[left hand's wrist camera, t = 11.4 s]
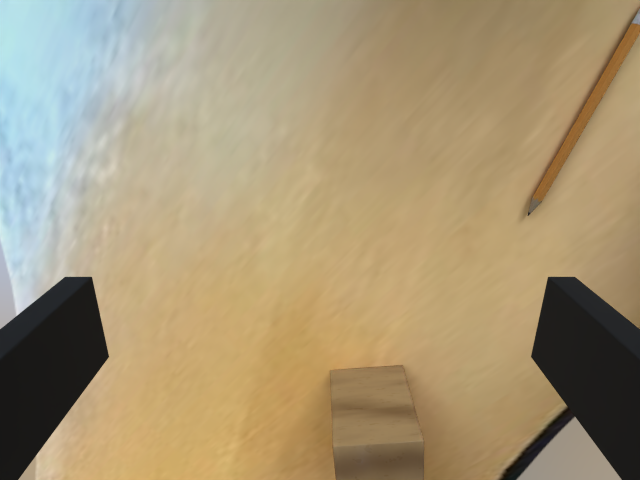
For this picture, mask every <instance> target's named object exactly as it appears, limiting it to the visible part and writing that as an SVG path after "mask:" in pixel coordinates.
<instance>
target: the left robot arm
mask: <svg viewBox="0 0 640 480" xmlns="http://www.w3.org/2000/svg"><path fill="white" fill-rule="evenodd" d="M108 357H109V355H108V350H107V346H106V341H105V336H104V332H103V327H102V322H101V318H100V313H99V308H98V303H97V299H96V294H95V289H94V285H93V280H92V277H65V278H63V279H62V280H61V281H60V282H58V283H57V284H56V285H55V286H53V287H52V288H51V289H50V290H48V291H47V292H46V293H45V294H44V295H42V296H41V297H40V298H39V299H37V300H36V301H35V302H34V303H32V304H31V305H30V306H29V307H27V308H26V309H25V310H24V311H22V312H21V313H20V314H19V315H18V316H16V317H15V318H14V319H13V320H11V321H10V322H9V323H8V324H6V325H5V326H4V327H3V328H1V329H0V480H18V479H19V478H20V476H21V475H22V474H23V472H24V471H25V470H26V468H27V467H28V466H29V464H30V463H31V462H32V460H33V459H34V457H35V456H36V455H37V453H38V452H39V451H40V449H41V448H42V447H43V445H44V444H45V443H46V441H47V440H48V439H49V437H50V436H51V434H52V433H53V432H54V430H55V429H56V428H57V426H58V425H59V424H60V422H61V421H62V420H63V418H64V417H65V416H66V414H67V413H68V411H69V410H70V409H71V407H72V406H73V405H74V403H75V402H76V401H77V399H78V398H79V397H80V395H81V394H82V393H83V391H84V390H85V388H86V387H87V386H88V384H89V383H90V382H91V380H92V379H93V378H94V376H95V375H96V374H97V372H98V371H99V370H100V368H101V367H102V365H103V364H104V363H105V361H106V360H107V359H108ZM531 357H532V359H533V360H534V361H535V363H536V364H537V365H538V367H539V368H540V370H541V371H542V372H543V374H544V375H545V376H546V378H547V379H548V380H549V382H550V383H551V384H552V386H553V387H554V388H555V390H556V391H557V393H558V394H559V395H560V397H561V398H562V399H563V401H564V402H565V403H566V405H567V406H568V407H569V409H570V410H571V411H572V413H573V414H574V416H575V417H576V418H577V420H578V421H579V422H580V424H581V425H582V426H583V428H584V429H585V430H586V432H587V433H588V434H589V436H590V437H591V439H592V440H593V441H594V443H595V444H596V445H597V447H598V448H599V449H600V451H601V452H602V453H603V455H604V456H605V457H606V459H607V460H608V462H609V463H610V464H611V466H612V467H613V468H614V470H615V471H616V472H617V474H618V475H619V476H620V478H621V479H622V480H640V329H639V328H637V327H636V326H635V325H634V324H632V323H631V322H630V321H629V320H627V319H626V318H625V317H624V316H622V315H621V314H620V313H619V312H618V311H616V310H615V309H614V308H613V307H611V306H610V305H609V304H608V303H606V302H605V301H604V300H603V299H601V298H600V297H599V296H598V295H596V294H595V293H594V292H593V291H592V290H590V289H589V288H588V287H587V286H585V285H584V284H583V283H582V282H580V281H579V280H578V279H577V278H575V277H548V280H547V285H546V289H545V294H544V299H543V303H542V308H541V313H540V317H539V322H538V327H537V332H536V336H535V341H534V346H533V350H532V355H531Z"/></svg>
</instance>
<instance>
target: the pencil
mask: <svg viewBox="0 0 640 480" xmlns="http://www.w3.org/2000/svg"><path fill="white" fill-rule="evenodd" d="M639 33H640V9H639V10H638V12H637V15H636V16H635V18H634V20H633V21H632V23H631V25H630V27H629V29H628V31H627V32H626V34H625V36H624V38H623V39H622V41H621V43H620V45H619V47H618V48H617V50H616V52H615V54H614V55H613V57H612V59H611V61H610V62H609V64H608V66H607V68H606V69H605V71H604V73H603V75H602V76H601V78H600V80H599V82H598V83H597V85H596V87H595V89H594V90H593V92H592V94H591V96H590V97H589V99H588V101H587V103H586V104H585V106H584V108H583V110H582V111H581V113H580V115H579V117H578V118H577V120H576V122H575V124H574V125H573V127H572V129H571V131H570V133H569V134H568V136H567V138H566V140H565V141H564V143H563V145H562V147H561V148H560V150H559V152H558V154H557V155H556V157H555V159H554V161H553V162H552V164H551V166H550V168H549V169H548V171H547V173H546V175H545V176H544V178H543V180H542V182H541V183H540V185H539V187H538V189H537V190H536V192H535V194H534V196H533V197H532V200H531V204H530V208H529V212H528V215H527V216H529V214H530V213H531V212H532V211H533V210H534V209H535V208H536V207H537V206H538V205H539V204H540V203H541V202H542V200H543V199H544V197H545V195H546V194H547V192H548V190H549V188H550V187H551V185H552V183H553V181H554V180H555V178H556V176H557V175H558V173H559V171H560V169H561V168H562V166H563V164H564V162H565V161H566V159H567V157H568V156H569V154H570V152H571V150H572V149H573V147H574V145H575V144H576V142H577V140H578V138H579V137H580V135H581V133H582V131H583V130H584V128H585V126H586V125H587V123H588V121H589V119H590V118H591V116H592V114H593V112H594V111H595V109H596V107H597V106H598V104H599V102H600V100H601V99H602V97H603V95H604V94H605V92H606V90H607V88H608V87H609V85H610V83H611V81H612V80H613V78H614V76H615V75H616V73H617V71H618V69H619V68H620V66H621V64H622V62H623V61H624V59H625V57H626V56H627V54H628V52H629V50H630V49H631V47H632V45H633V44H634V42H635V40H636V38H637V37H638V35H639Z"/></svg>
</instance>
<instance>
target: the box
mask: <svg viewBox="0 0 640 480" xmlns="http://www.w3.org/2000/svg"><path fill="white" fill-rule="evenodd" d="M330 381H331V410H332V440H333V454H334V464H335V474H336V480H424V439H423V436H422V432H421V429H420V425H419V422H418V418H417V414H416V411H415V407H414V404H413V400H412V397H411V393H410V389H409V386H408V382H407V379H406V375H405V372H404V368H403V365H398V366H384V367H370V368H356V369H342V370H330Z"/></svg>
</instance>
